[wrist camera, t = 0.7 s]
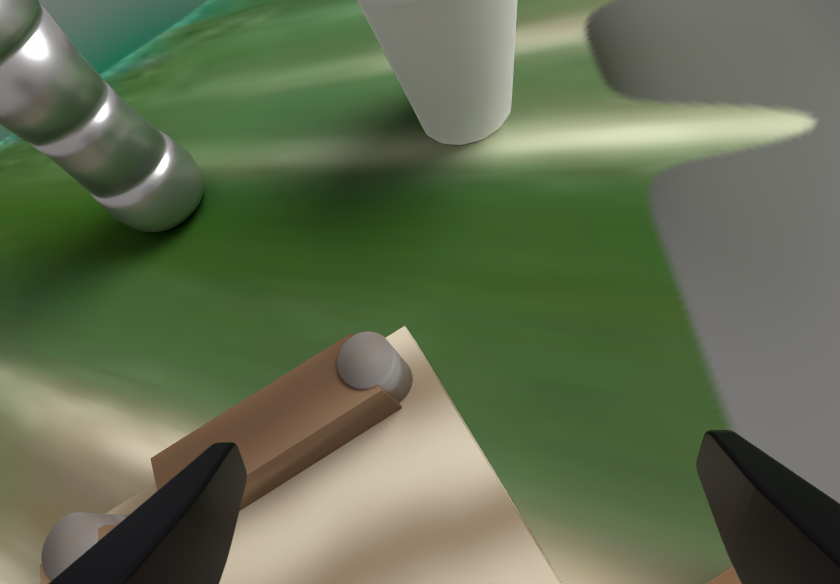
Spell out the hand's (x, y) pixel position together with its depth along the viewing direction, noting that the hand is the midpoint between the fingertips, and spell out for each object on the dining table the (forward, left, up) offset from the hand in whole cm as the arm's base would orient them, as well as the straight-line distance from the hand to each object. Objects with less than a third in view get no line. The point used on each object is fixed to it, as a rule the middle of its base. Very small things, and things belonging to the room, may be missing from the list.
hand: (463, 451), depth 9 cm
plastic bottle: (+29, +10, -14) cm, 34 cm away
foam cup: (+22, -11, -14) cm, 28 cm away
